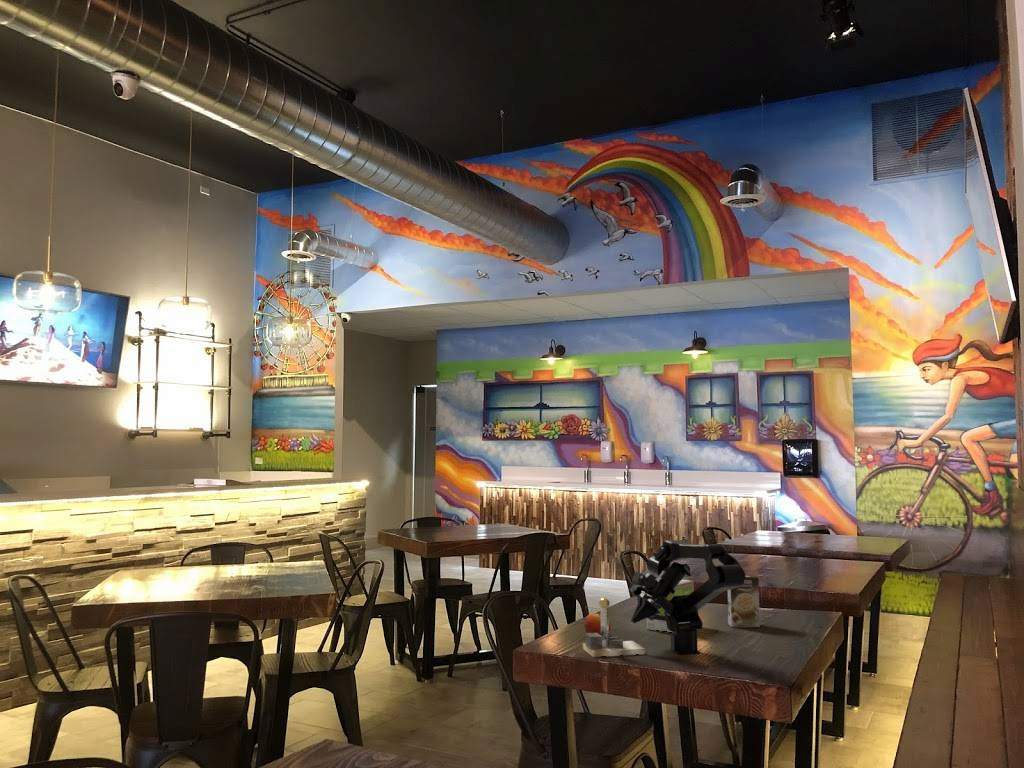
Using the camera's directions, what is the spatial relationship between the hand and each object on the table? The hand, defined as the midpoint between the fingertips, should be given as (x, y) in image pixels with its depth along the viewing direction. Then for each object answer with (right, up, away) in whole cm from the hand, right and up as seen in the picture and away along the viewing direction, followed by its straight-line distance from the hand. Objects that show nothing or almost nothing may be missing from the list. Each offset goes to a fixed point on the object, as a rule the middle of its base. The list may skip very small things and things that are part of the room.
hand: (632, 621), depth 233 cm
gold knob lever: (-9, -6, -2) cm, 12 cm away
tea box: (+17, -11, +30) cm, 36 cm away
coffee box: (+41, -11, +32) cm, 53 cm away
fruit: (-8, -10, +18) cm, 22 cm away
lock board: (-6, -8, -1) cm, 10 cm away
